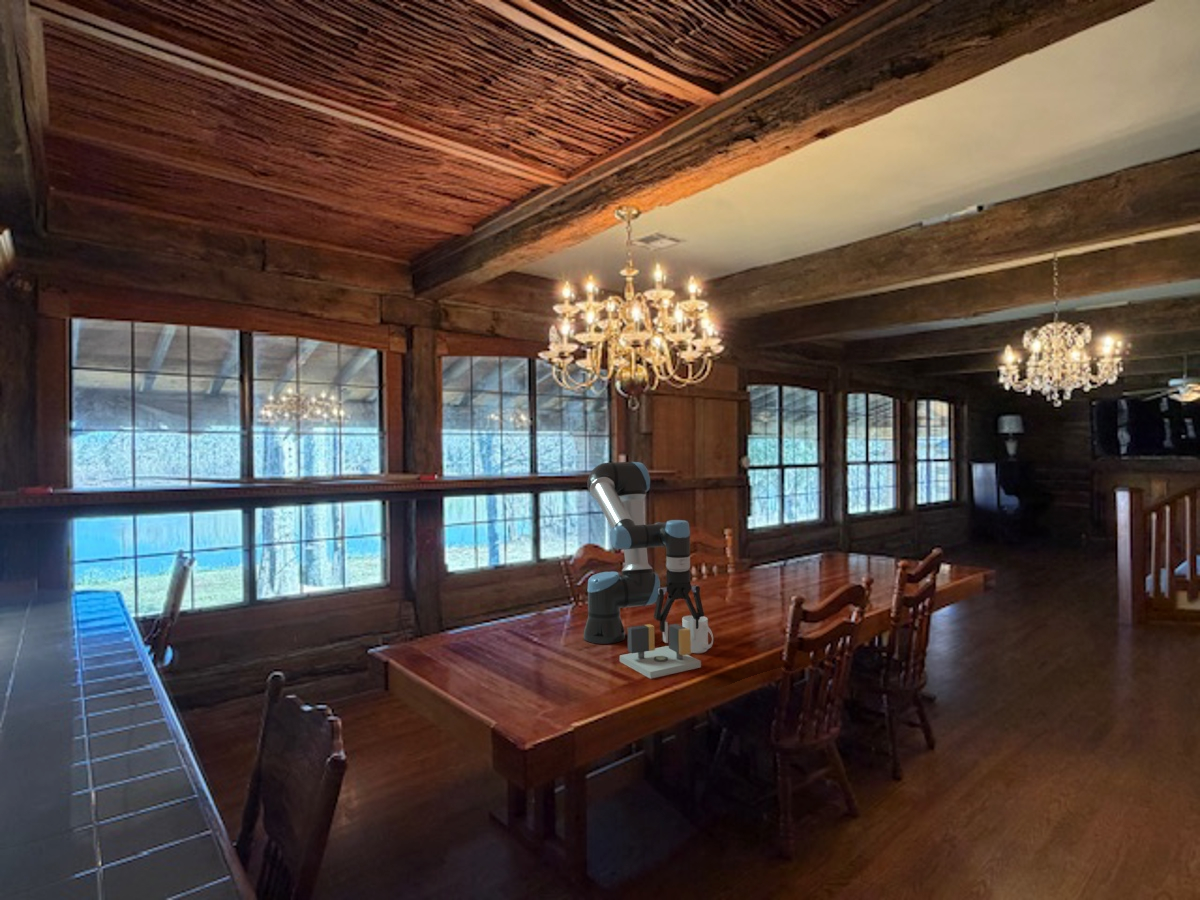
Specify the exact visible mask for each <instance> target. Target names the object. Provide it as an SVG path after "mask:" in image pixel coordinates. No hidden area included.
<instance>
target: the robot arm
mask: <svg viewBox="0 0 1200 900" xmlns="http://www.w3.org/2000/svg"><path fill="white" fill-rule="evenodd" d="M588 475H589V476H588V478H587V485H586V486H587V490H588V492H589V494H590V496H591V497H592V498H593V499H595V500H596V501H597V503H598V506H599V508H600V509H601V511H602V513H603V514H604V516H605V518H606V520H607V522H608V525H609V526H610V533H609V535H610V537H609V540H610V544H611V547H613V549H614V550H623V554H624V567H623V568H622V569H621V575H620V573H619V572H617V571H603V572H599V573H598V572H597V573H596V574H592V575H591V576H590V577H589V578H588V580H587V589H586V590H587V615H588V617H587V620H586V623H585V626H584V631H583V639H584V641H586V642H588V643H592V644H599V645H601V644H602V645H604V644H606V645H607V644H615V643H620V642H621V641H624V640H625V639H626V629H625V628H624V624H623V621H622V618H621V608H622V609H624V608H633V607H634V608H635V607H645V606H650V605H654V604H655V603H656V604H655V609H654V613H653V618H654V619H655V620H656V621H658V622H659V631H660V632H661V633H662V642H664V643H665V644H669V624H668V623H669V622H668V621H667V617H668V615H669V613H670V611H671V608H672V606H673V603H675V601H677V600H683V601H684V602H685V603H686V606H687V608H688V609H689V612H690V614H691V615H692V616H693V618H690V628H691V639H693V640H696V629H698V620H699V619H700V617H703V616H704V617H705V613H704V608H703V607H704V606H703V603H702V600H701V594H700V593H701V587H700V585H699V586H698V585H697V584H694V585H692V583H691V570H690V569H691V530H690V523H689V522H688V520H684V519H683V520H682V519H670V520H667V521H666V522H655V523H653V524H650V523H649V524H645V517H644V515H645V514H644V505H643V500H644V499H645V497H646V496H647V495H646V493H647V492H648V491H649V490H650V487H651V477H650V473H649V470H648V468H647V467H646V465H645V464H644V463H642V462H640V461H639V462H638V461H622V462H621V461H619V462H604V463H601V464H598V465H597V466H595V467H594V468H593V469H592V470H591V471H590V473H589V474H588ZM659 547H663V548H665V552H666V553H665V556H666V558H665V560H666V563H665V567H666V585H665V587H661V581H660V577H659V575H658V574H657V573H656V572H654V571H653V570H654V569H653V567H652V566H651V565H650V564H649V561H648V560H649V559H648V550H647V549H648V548H649V549H650V548H659ZM691 591H692V594H693V598H694V604H695V605H694V604H693V602H692V599H691V597H690V595H689V593H690V592H691ZM666 592H667V594H668V595H667V597H666V600H665V604H664V599H665V594H666ZM663 605H664V606H663ZM695 607H696V608H695Z"/></svg>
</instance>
